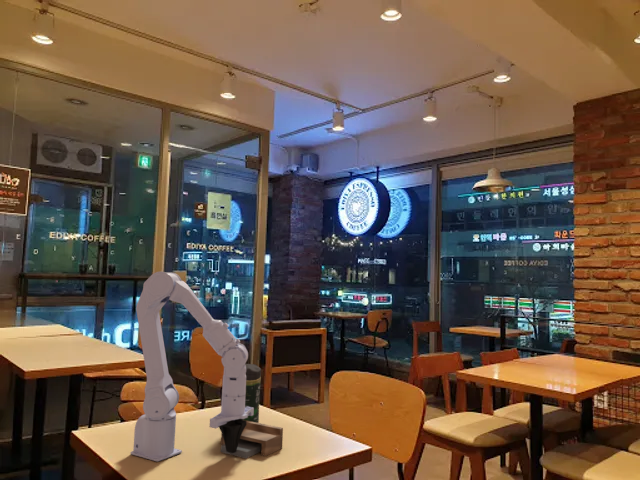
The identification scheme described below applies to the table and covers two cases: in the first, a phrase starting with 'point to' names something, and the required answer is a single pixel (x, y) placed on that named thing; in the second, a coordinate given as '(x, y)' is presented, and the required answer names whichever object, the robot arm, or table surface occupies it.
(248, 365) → the coffee jar
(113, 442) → the table surface
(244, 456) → the slate tile
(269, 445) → the walnut shelf
